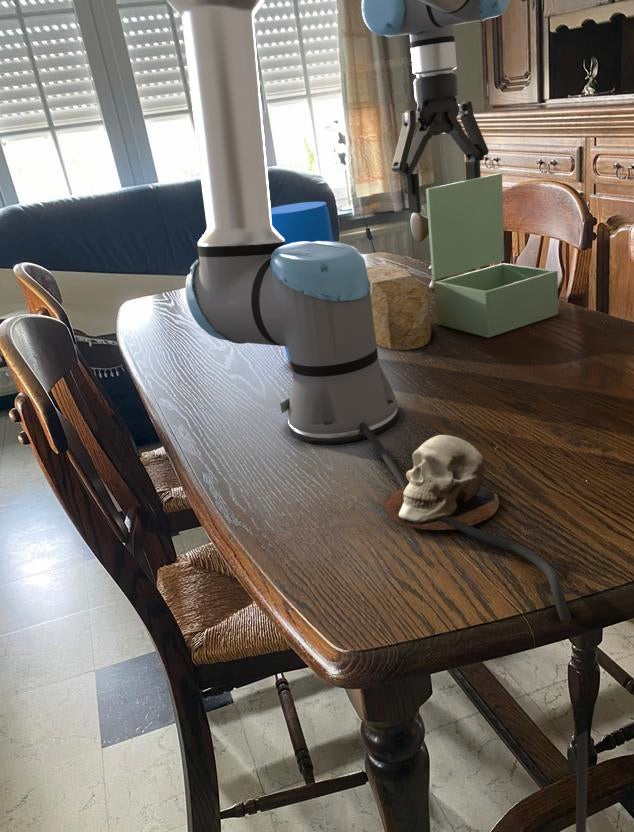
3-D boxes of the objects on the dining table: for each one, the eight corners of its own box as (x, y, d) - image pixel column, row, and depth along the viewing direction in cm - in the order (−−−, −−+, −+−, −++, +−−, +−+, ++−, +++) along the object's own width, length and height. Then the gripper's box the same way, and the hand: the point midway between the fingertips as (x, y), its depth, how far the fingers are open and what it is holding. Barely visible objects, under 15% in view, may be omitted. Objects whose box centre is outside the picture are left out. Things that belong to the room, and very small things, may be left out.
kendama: (415, 291, 165) (405, 194, 155) (454, 282, 168) (447, 186, 158) (427, 295, 160) (417, 196, 150) (466, 286, 163) (460, 188, 153)
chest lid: (502, 173, 135) (480, 172, 140) (428, 189, 128) (408, 187, 132) (504, 260, 143) (483, 257, 147) (434, 280, 136) (415, 275, 140)
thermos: (293, 377, 123) (263, 217, 111) (284, 359, 132) (255, 209, 120) (357, 364, 125) (334, 205, 113) (343, 347, 134) (320, 199, 122)
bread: (445, 341, 130) (441, 283, 125) (385, 354, 128) (378, 295, 123) (387, 300, 161) (382, 252, 156) (338, 310, 159) (331, 261, 154)
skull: (443, 544, 71) (387, 453, 72) (402, 573, 80) (353, 491, 81) (530, 493, 76) (477, 410, 78) (483, 525, 85) (436, 450, 87)
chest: (558, 314, 136) (557, 270, 132) (488, 338, 129) (485, 292, 125) (504, 303, 147) (502, 262, 143) (437, 324, 140) (433, 282, 136)
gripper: (477, 69, 137) (483, 193, 147) (362, 84, 126) (378, 217, 136) (504, 64, 131) (509, 194, 141) (386, 80, 120) (401, 219, 131)
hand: (444, 205), depth 139 cm, fingers open, 13 cm apart
